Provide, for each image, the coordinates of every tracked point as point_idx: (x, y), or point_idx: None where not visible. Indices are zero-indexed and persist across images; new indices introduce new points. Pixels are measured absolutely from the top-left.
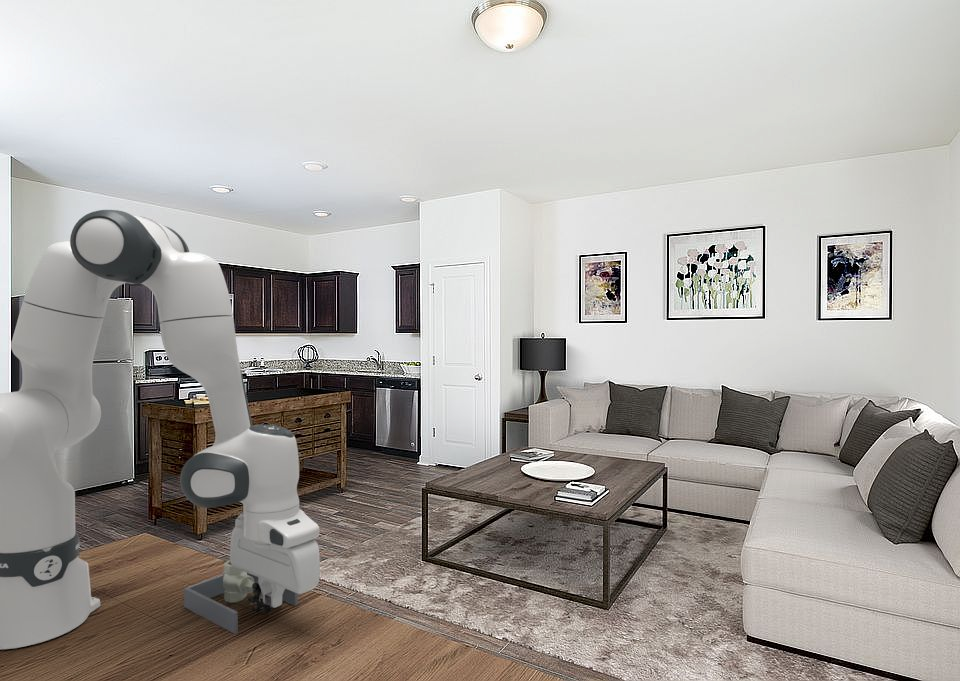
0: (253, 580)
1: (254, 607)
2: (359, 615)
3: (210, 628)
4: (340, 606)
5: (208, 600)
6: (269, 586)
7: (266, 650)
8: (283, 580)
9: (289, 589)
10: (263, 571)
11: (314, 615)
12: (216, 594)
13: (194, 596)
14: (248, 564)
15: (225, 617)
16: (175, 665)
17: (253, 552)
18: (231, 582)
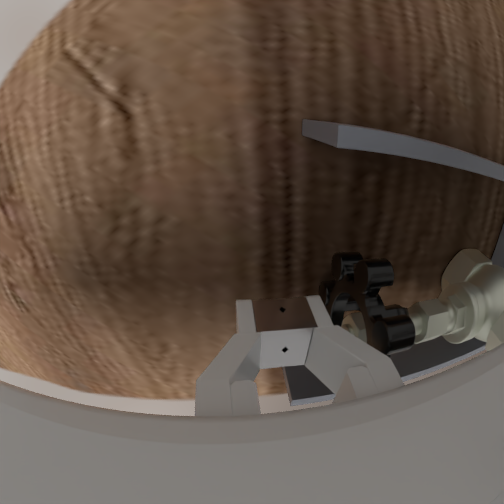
0: (447, 338)
1: (354, 262)
2: (106, 387)
3: (411, 107)
4: (176, 395)
5: (501, 167)
6: (327, 371)
7: (78, 137)
8: (37, 443)
9: (9, 389)
10: (331, 470)
11: (180, 352)
12: (497, 251)
13: None
14: (494, 404)
15: (391, 132)
16: None
17: (492, 500)
18: (495, 287)
